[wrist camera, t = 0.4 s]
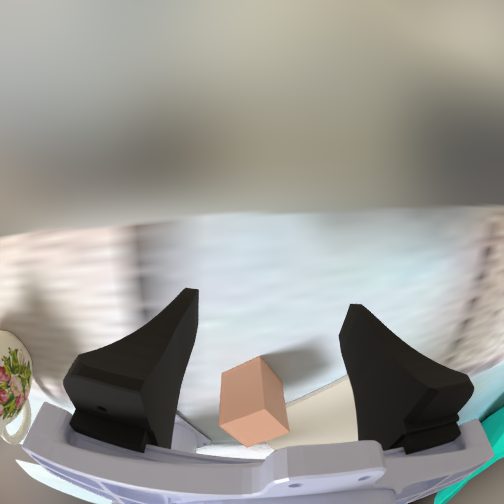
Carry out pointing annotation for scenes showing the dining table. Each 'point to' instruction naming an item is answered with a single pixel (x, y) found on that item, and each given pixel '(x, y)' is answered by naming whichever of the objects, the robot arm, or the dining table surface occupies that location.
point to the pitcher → (14, 385)
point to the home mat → (321, 417)
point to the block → (252, 403)
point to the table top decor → (500, 438)
